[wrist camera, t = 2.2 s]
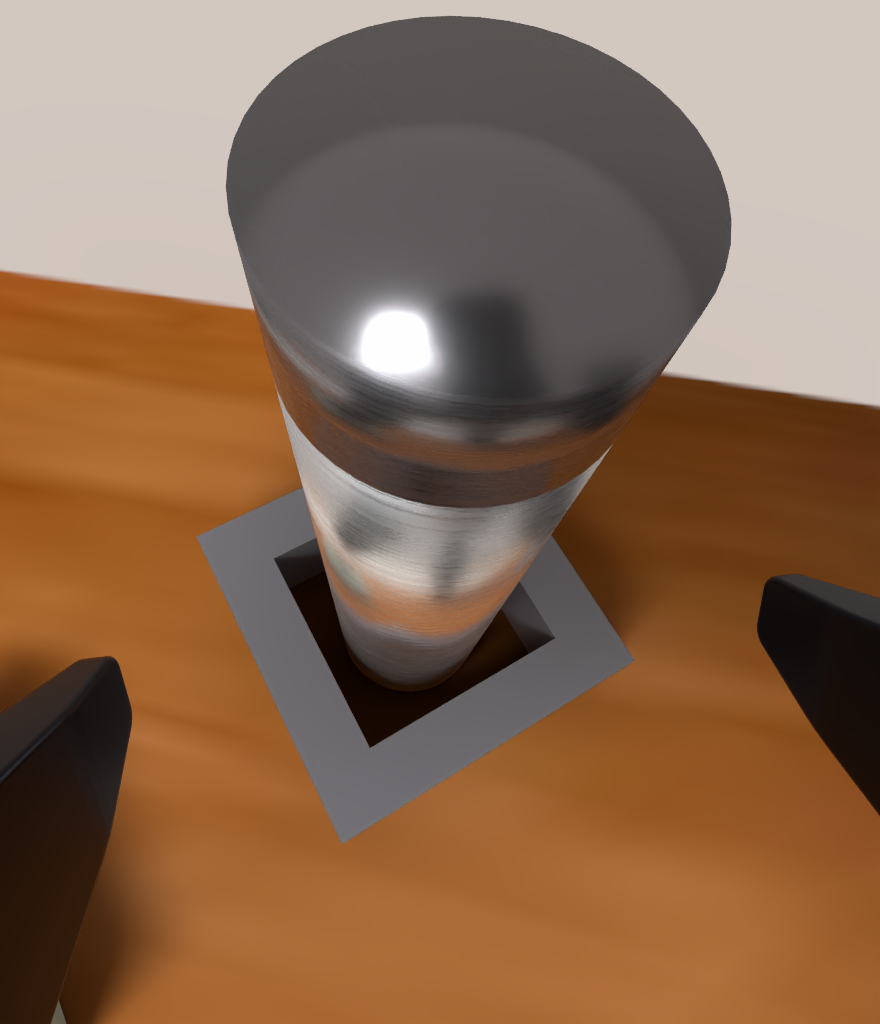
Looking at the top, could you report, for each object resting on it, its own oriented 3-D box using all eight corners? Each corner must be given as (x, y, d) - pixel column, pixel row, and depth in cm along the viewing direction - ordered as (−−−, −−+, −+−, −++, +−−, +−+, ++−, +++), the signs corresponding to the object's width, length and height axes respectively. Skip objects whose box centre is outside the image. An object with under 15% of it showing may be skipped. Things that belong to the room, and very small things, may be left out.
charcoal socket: (599, 677, 20) (634, 660, 17) (348, 834, 18) (341, 843, 15) (458, 455, 22) (468, 409, 20) (222, 570, 20) (196, 536, 17)
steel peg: (499, 649, 20) (833, 272, 5) (382, 717, 19) (381, 491, 4) (433, 539, 21) (553, -26, 6) (319, 598, 20) (145, 89, 5)
